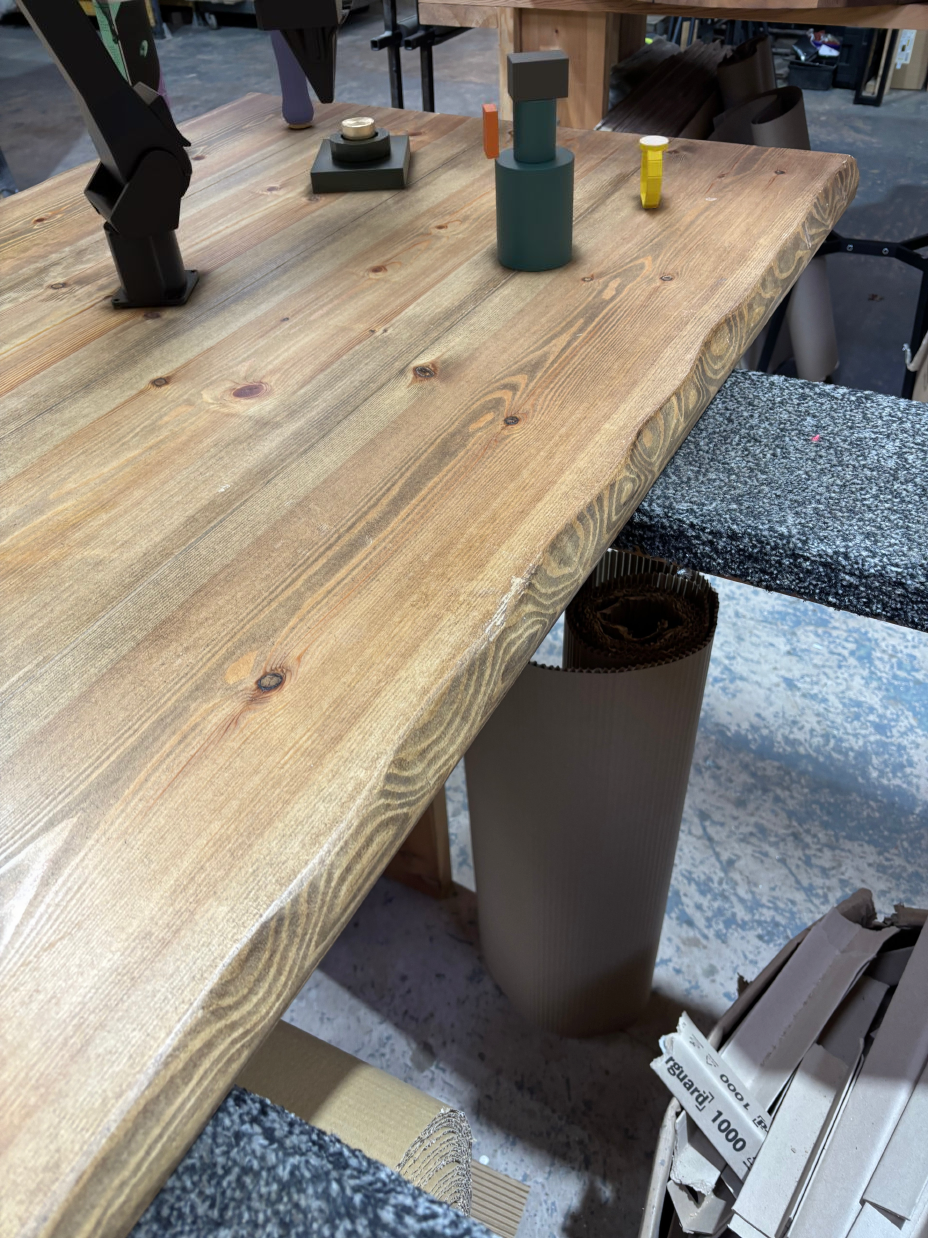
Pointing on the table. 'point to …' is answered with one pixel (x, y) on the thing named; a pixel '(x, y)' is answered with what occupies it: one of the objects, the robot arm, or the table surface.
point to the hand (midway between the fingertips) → (327, 102)
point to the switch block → (361, 163)
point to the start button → (358, 129)
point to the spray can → (131, 42)
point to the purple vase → (292, 85)
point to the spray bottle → (535, 168)
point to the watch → (651, 169)
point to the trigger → (490, 130)
